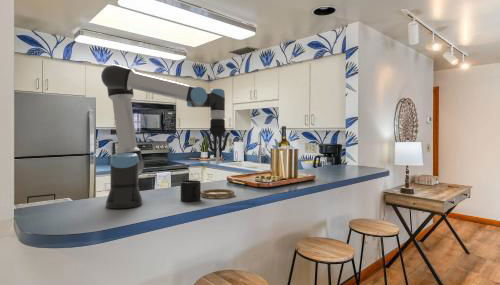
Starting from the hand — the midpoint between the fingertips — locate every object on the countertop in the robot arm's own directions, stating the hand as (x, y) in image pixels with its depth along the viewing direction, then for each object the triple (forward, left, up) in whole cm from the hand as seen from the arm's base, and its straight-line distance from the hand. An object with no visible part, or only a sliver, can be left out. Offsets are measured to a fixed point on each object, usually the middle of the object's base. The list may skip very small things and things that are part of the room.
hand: (217, 164), depth 161 cm
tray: (0, 0, -16) cm, 16 cm away
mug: (-14, -11, -17) cm, 24 cm away
